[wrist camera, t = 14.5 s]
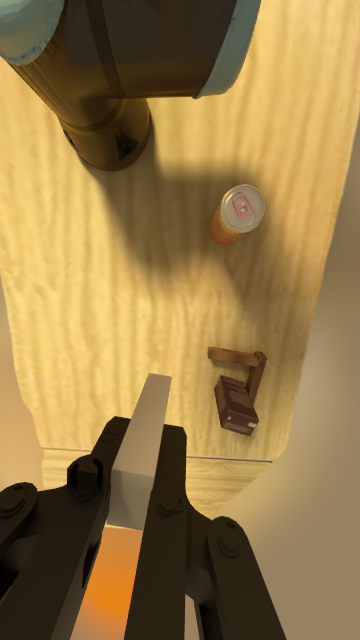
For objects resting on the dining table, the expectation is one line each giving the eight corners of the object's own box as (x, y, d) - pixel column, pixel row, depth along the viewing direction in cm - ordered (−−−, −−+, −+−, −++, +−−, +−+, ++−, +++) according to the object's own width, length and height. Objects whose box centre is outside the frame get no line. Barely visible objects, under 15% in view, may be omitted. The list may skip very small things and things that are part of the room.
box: (213, 390, 50) (219, 428, 38) (220, 374, 49) (229, 408, 37) (236, 397, 50) (250, 438, 39) (244, 382, 49) (260, 419, 37)
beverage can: (232, 205, 40) (256, 171, 25) (245, 235, 41) (274, 219, 26) (204, 221, 41) (211, 198, 26) (217, 250, 42) (230, 243, 27)
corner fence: (198, 396, 51) (198, 404, 48) (209, 343, 47) (210, 348, 44) (247, 405, 51) (250, 413, 48) (262, 352, 47) (266, 358, 44)
